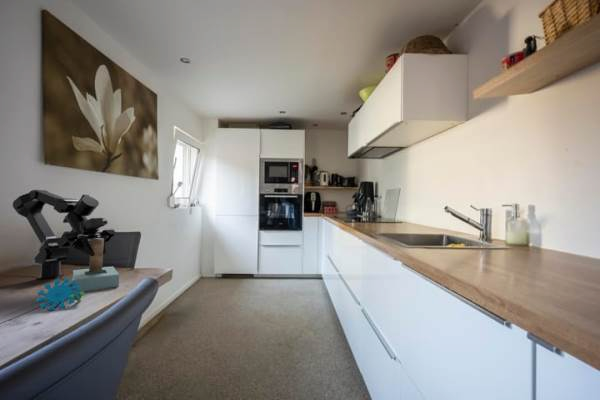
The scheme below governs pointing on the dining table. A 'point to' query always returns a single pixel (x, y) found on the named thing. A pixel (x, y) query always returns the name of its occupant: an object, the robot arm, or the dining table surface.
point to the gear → (60, 294)
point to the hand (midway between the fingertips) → (99, 254)
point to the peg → (96, 255)
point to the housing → (96, 279)
